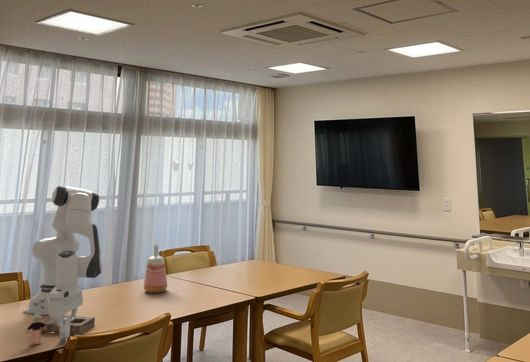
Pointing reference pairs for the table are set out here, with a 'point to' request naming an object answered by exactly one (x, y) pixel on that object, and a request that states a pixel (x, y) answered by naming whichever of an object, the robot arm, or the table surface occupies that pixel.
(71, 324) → the peg board
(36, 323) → the grandmother figurine
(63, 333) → the peg
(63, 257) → the robot arm
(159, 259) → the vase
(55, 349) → the table surface
